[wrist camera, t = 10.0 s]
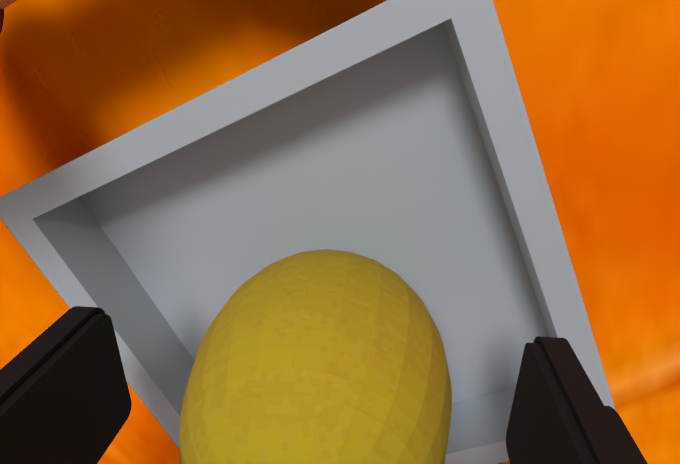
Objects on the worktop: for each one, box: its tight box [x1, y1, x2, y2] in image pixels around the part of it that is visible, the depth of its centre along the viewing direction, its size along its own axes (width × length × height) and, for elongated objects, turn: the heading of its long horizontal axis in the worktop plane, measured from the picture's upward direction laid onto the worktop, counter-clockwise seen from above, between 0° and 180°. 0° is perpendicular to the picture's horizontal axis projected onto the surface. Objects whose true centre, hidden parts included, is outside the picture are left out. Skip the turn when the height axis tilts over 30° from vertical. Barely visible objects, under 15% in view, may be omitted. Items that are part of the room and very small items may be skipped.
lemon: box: [180, 249, 452, 464], centre depth 10 cm, size 6×6×8 cm
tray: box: [0, 0, 616, 464], centre depth 13 cm, size 13×13×2 cm
